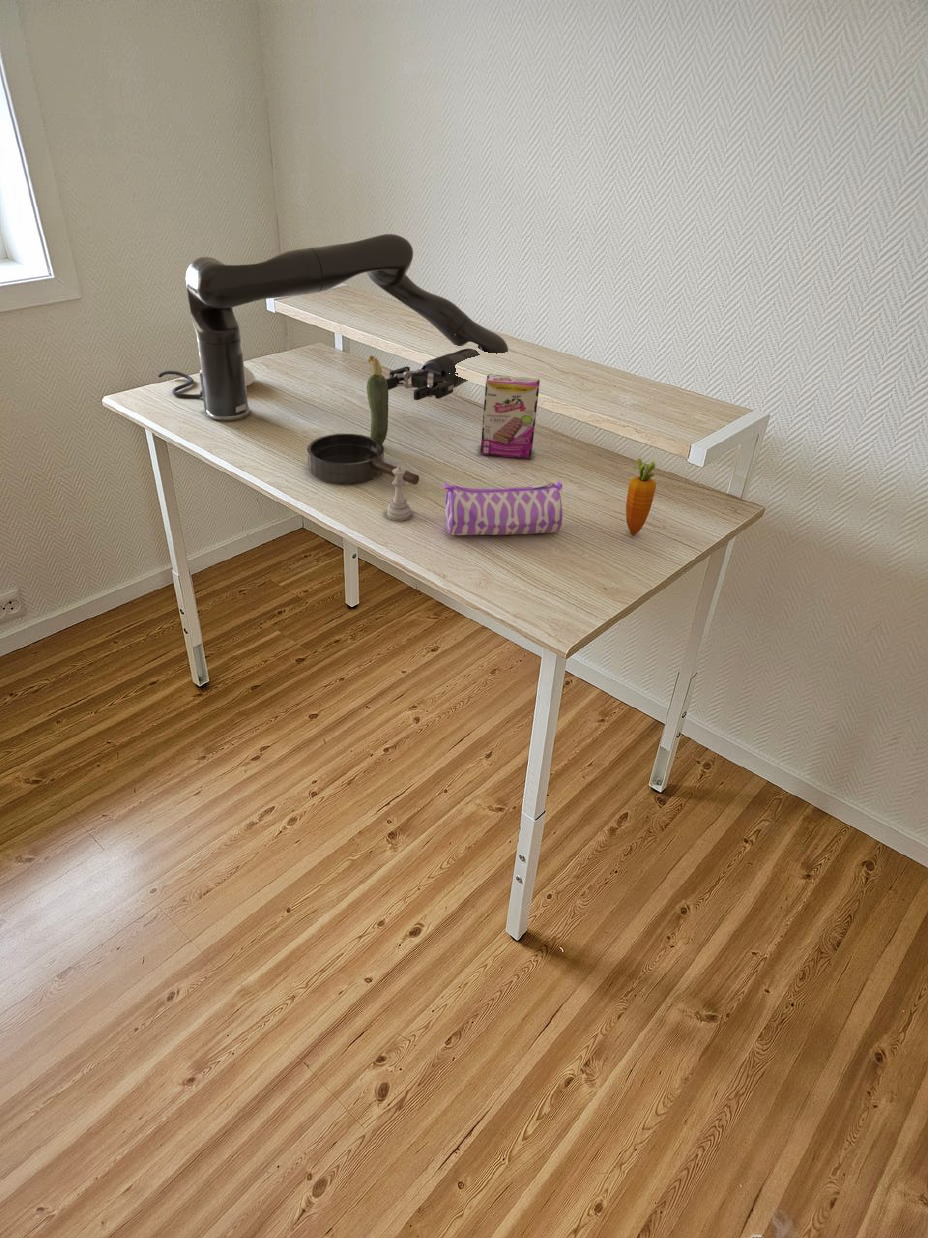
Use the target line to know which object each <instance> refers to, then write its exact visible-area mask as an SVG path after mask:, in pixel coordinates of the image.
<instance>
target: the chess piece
mask: <svg viewBox="0 0 928 1238" xmlns="http://www.w3.org/2000/svg"><path fill="white" fill-rule="evenodd" d="M396 467H397V468H395V469H393V473H394V475H395V477H394V480H393V481H392V485H393V486H394V487H395V489H394V490H395V491H394V497H393V499H391V501H390V503H389V505H388V506H387V508H386V509H387V511H386V516H387V518H388V519H390V520H392V521H397V522H403V521H406V520H408V519H410V518H411V515H412V513H411V509H412V508H411V506H410V505H409V504H408V503H407V500H406V499H405V497H404V489H403V487H404V486H406V483H407V482H406V481H404V480H403V475H404V474H405V472H406V471H407V470H406V469H405V468H403V467H401V465H398V466H396ZM405 470H406V471H405Z"/></svg>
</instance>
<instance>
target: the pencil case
mask: <svg viewBox="0 0 928 1238" xmlns="http://www.w3.org/2000/svg"><path fill="white" fill-rule="evenodd" d="M442 485H443V488H444V490H446V495H445V503H444V522H445V523H444V524H445V527H446V531H447V533H448V534H449V535H450V536H455V535H456V536H465V535H466V536H467V535H468V536H473V535H482V536H484V535H485V536H487V535H490V536H493V535H494V536H497V535H499V536H500V535H502V536H504V535H530V534H531V535H532V534H546V533H548V534H551V533H557V532H559V531H560V529H561V527H562V523H563V504H562V497H561V492H560V491H561V490H562V489H563V483H562V481H561V480H558V481H557V483H556V484H555V483H553V482H547V483H546V484H545V483H544V484H537V485H533V486H520V487H519V486H518V487H517V486H515V487H513V486H512V487H506V488H473V487H465V486H458V485H456V484H452V485H451V484H449V483H447V482H442Z"/></svg>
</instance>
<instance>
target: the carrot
mask: <svg viewBox="0 0 928 1238" xmlns="http://www.w3.org/2000/svg"><path fill="white" fill-rule="evenodd" d="M636 461H637V464H638V469H639V470H638V472H639V473H638V474H639V475H638V476H633V477H631V479H630V481H629V484H628V487H627V488H628V489H627V495H626V503H625V518H626V524H627V528H628V531H629V533H630V535H631V536H636V535H637V534H638V533H639V532H640V531H641V530H642V528H643V526H644V525H645V523H646V521H647V519H648V516H649V514H650V511H651V509H652V505H653V501H654V497H655V493H656V488H657V483H656V481H655V480H654V479H653V478H652V477H654V476H655V475H656V474H655V473H654V472H652V471H653V470H654V468H655V467H656V463H655V462H654V461H651V462H650V463H649V464H648V465H647V467H646V464H645V463H643V461H642V458H641V457H639V458H638V459H636Z"/></svg>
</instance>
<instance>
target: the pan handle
mask: <svg viewBox="0 0 928 1238" xmlns="http://www.w3.org/2000/svg"><path fill="white" fill-rule="evenodd" d="M397 467H398V466H396V465H393V464H390V463H387V462H386V461H384V462H383V461H380V460H378V459H373V460H372V462H371V468H373V469H375V470H378V471H380V472H382V473H383V474H384V475H385V474H386V475H388V476H391V477H393V478H396V477H395V475H394V473H393V469H395V468H397ZM405 471H406V472H405V474H404V475H403V480H404V481H405V482H406V483H408V484H411V485H413V486H415V485H416V486H417V484H418V483H419V482H420V476H419V474H417V473H414V472H411V471H408V470H406V469H405Z"/></svg>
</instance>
